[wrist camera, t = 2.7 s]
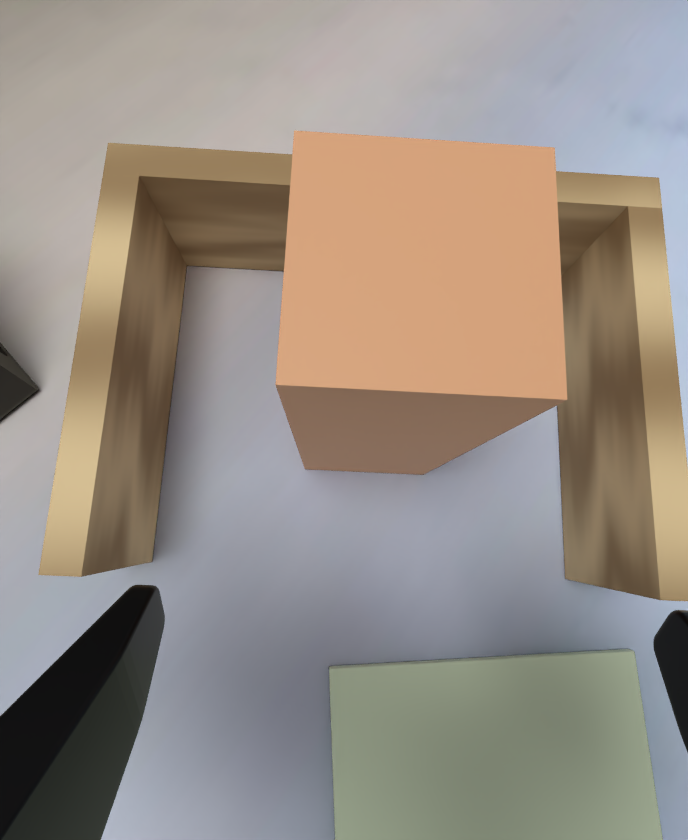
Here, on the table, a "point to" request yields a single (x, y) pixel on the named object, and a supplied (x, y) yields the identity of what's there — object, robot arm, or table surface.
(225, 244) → the u-shaped frame
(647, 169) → the table surface
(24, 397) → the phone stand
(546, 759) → the mat
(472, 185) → the block
